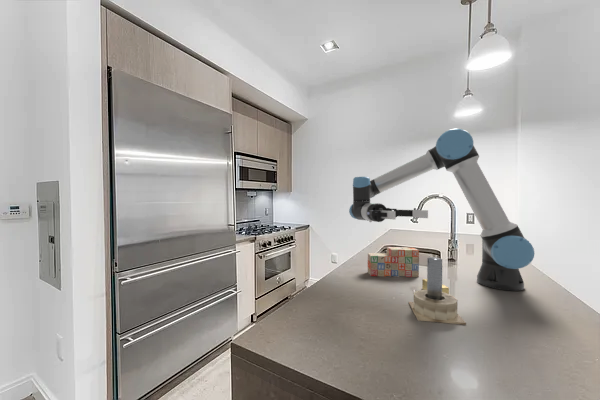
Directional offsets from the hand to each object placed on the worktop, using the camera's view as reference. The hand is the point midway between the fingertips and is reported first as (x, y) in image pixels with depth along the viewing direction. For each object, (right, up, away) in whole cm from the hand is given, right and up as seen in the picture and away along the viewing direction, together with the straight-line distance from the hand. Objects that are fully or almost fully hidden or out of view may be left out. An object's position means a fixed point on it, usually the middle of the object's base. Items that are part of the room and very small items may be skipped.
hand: (411, 214), depth 88 cm
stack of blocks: (+5, -30, +31) cm, 43 cm away
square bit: (+12, -28, +2) cm, 30 cm away
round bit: (+3, -29, -9) cm, 30 cm away
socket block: (+3, -29, -9) cm, 31 cm away
